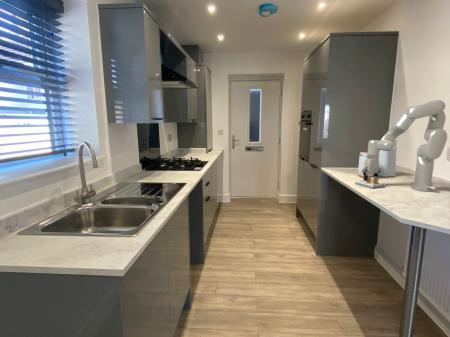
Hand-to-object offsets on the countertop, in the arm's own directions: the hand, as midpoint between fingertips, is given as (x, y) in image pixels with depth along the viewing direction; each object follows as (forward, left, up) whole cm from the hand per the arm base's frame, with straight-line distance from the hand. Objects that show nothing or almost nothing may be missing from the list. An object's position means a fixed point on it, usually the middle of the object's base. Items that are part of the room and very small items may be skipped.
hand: (370, 180), depth 190 cm
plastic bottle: (+25, -43, -4) cm, 50 cm away
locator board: (0, 0, -4) cm, 4 cm away
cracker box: (+23, -20, -4) cm, 31 cm away
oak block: (0, 0, -3) cm, 3 cm away
